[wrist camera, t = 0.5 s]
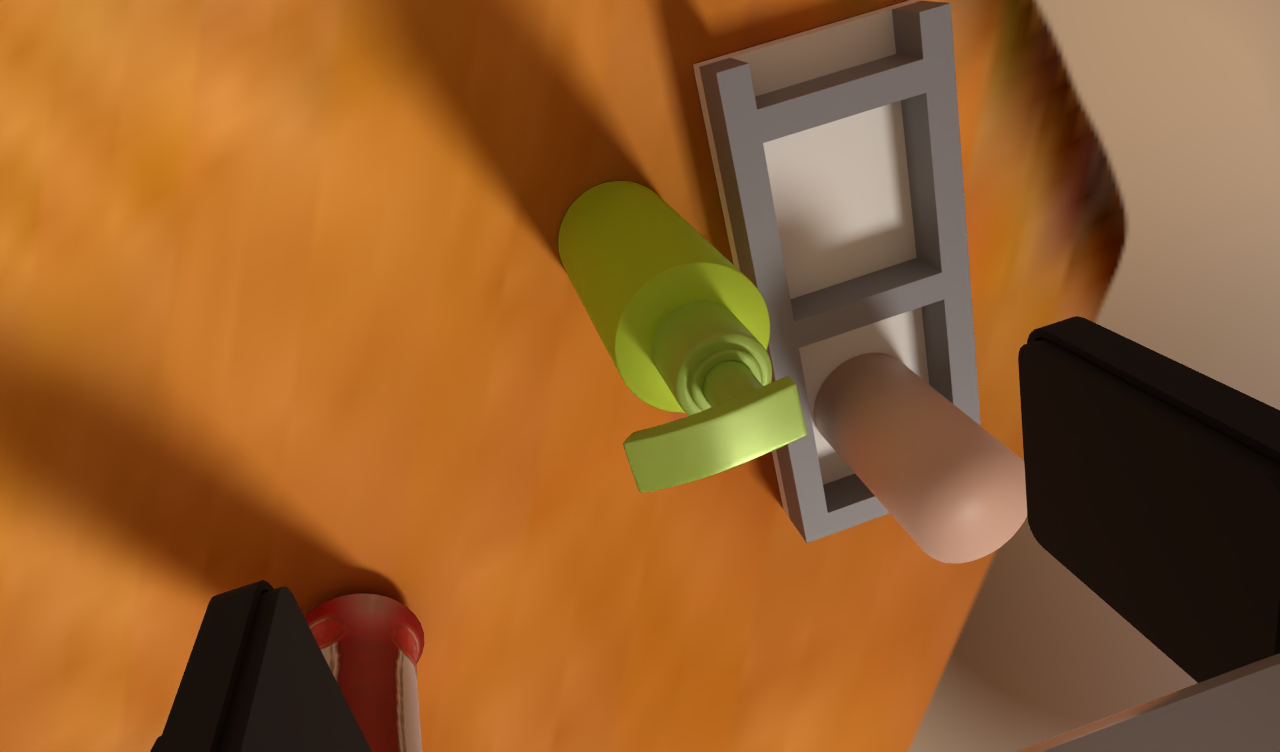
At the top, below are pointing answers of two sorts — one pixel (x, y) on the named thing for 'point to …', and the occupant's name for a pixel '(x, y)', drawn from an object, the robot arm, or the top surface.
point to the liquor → (374, 665)
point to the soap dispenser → (677, 335)
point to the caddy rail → (864, 274)
